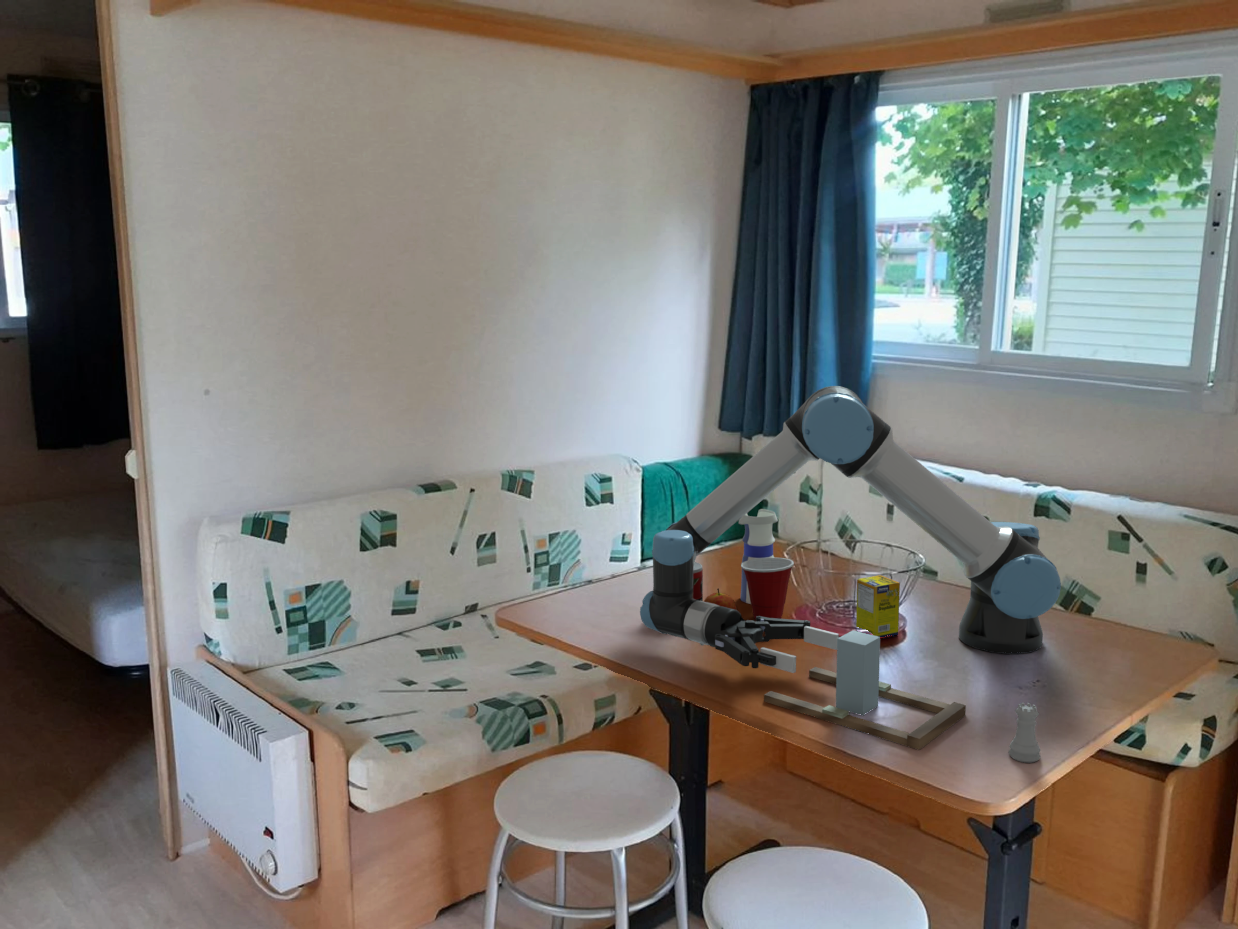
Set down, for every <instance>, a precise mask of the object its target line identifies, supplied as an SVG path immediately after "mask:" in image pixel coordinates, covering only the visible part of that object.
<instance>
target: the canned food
mask: <svg viewBox="0 0 1238 929" xmlns="http://www.w3.org/2000/svg"><path fill="white" fill-rule="evenodd" d="M703 570H704V569H703V565H702V564H701V563H699V562H696V561H695V562H694V567H693V599H695V600H699V601H703V602H704V600H703V590H704V589H703V586H704V582H703V580H704V578H703V576H704V575H703V574H704V573H703V572H704V571H703Z"/></svg>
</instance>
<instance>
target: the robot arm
mask: <svg viewBox="0 0 1238 929" xmlns="http://www.w3.org/2000/svg"><path fill="white" fill-rule="evenodd" d="M818 460H823V462H826V463H829V464H831V465H832V466H833V467H834V468H836V469H837V470H838V471H839V472H841V473H842V474H843V475H844V476H845V477H847V478H848V479H852V478H853V479H854V478H861V479H862V480H863V481H865V482H866V483H867V484H868V485H869V486H870V487H872V489H874V490H875V491H876V492H878V493H879V494H880V495H881V496H883V497H884V499H886V500H887V501H888V502H889V503H891V505H893V506H894V507H896V508H897V509H898V510H899V511H900V512H901V513H903V514H904V515H905V516H906V517H907V518H909V519H910V520H911V521H912V523H913V522H914V524H916V525H917V526H919V528H920V529H922V530H923V531H924V532H925V533H927V534H928V535H929V536H930V537H931V538H933V539H934V540H935V541H936V542H937V543H939V544H940V545H941V546H942V547H943V548H944V549H946V551H947V552H949V553H951V555H953V556H954V557H955V558H956V559H957V560H959V561H960V562H961V563H962V566H963V567H962V568H963V575H964V576H965V577H966V578H967V579H968V580H969V581H970V595H969V600H968V602H967V603H968V604H967V606H966V608H965V611H964V613H963V615H962V618H961V620H960V623H959V628H958V638H959V640H960V641H961V642H962V643H963V644H966V645H967V646H969V647H970V648H971V647H972V648H974V649H978V650H981V651H985V652H991V653H995V654H996V653H997V654H1009V655H1010V654H1011V655H1013V654H1017V655H1019V654H1027V653H1031V652H1035V651H1037V650H1039V649H1041V647H1042V646H1043V638H1044V637H1043V635H1044V634H1043V630H1042V626H1041V622H1040V619H1039V616H1042V615H1043V614H1045V613H1048V611H1050V609H1051V608H1053V607H1054V605H1055V604H1056V602H1057V601H1058V599H1059V597H1060V594H1061V587H1062V582H1061V577H1060V574H1059V572H1058V570H1057V567H1056V565H1055V564H1054V563H1053V562H1052V561H1051V560H1050V559H1049V558H1048V557H1047V556H1046V555H1045V554H1044V553H1043V552H1042V551H1041V550H1040V549H1039V544H1040V539H1041V537H1040V532H1039V530H1040V529H1039V528H1038V527H1036V525H1034V524H1030V523H1029V524H1028V523H1021V522H1010V521H1009V522H1008V521H1006V522H1005V521H990V520H989V519H987V518H986V517H985V516H984V515H983V514H982V513H980V512H979V511H978V510H977V509H976V508H974V507H973V506H972V505H971V504H970V503H969V502H967V501H966V500H965V499H963V498H962V497H961V496H960V495H959V493H958V494H957V493H956V491H954V490H953V489H952V488H951V487H950V486H948V485H947V484H946V483H944V482H943V481H942V480H941V479H940V478H938V477H937V475H935V474H934V473H933V472H932V471H930V469H928V468H927V467H925V466H924V465H923V464H922V463H921V462H919V461H918V459H916V458H915V457H913V455H911V454H910V453H909V452H908V451H907V450H905V449H904V448H903V447H902V446H901V445H900V444H898V443H897V442H895V440H894V437H893V428H892V427H891V425H889V424H888V423H887V422H885V421H884V420H883V419H882V418H880V417H879V416H878V415H877V414H876V413H875V412H873V411H872V409H870V408H869V407H868V406H866V405H865V404H864V403H863V400H862V399H861V398H860V397H859V396H858V394H856V392H854V391H853V390H851V389H850V388H847V387H843V386H839V385H830V386H824V387H823V388H820V389H818V390H816V391H815V392H813V393H812V394H811V395H810V396H809V397H808V398H807V399H806V401H805V402H804V403H803V404H802V405H801V406H800V407H799V408H798V409H797V410H796V411H795V412H794V413H793V414H792V415H791V416H790V417H788V418H787V419H786V420H785V421H784V422H783V425H782V431H781V432H780V433H778V434H777V435H776V436H775V437H774V438H772V440H770V441H769V442H768V443H767V444H765V445H764V447H763V448H761V449H760V450H759V451H757V452H756V453H754V455H753V456H752V457H751V458H749V459H748V460H747V461H746V462H744V463H743V465H742V466H740V467H739V468H738V469H737V470H736V471H735V472H734V473H732V474H731V475H729V477H727V479H725V480H724V481H723V482H722V483H721V484H719V485H718V486H717V487H716V488H715V489H714V490H713V491H711V493H709V494H708V495H706V497H704V498H703V499H702V500H701V501H699V503H698V504H695V506H694V507H693V508H691V510H689V511H688V512H687V513H686V514H685V515H684V516H682V517H681V518H680V519H679V520H678V521H676V522H673V523H671V524H670V525H669V526H668V527H667V528H666V529H665V530H661V531H660V532H657V533H655V534H654V536H653V538H652V550H651V554H652V577H653V582H652V583H653V584H652V585H653V586H652V587H653V588H652V590H651V591H649V592H648V593H646V594H645V596H644V597H643V598H642V600H641V602H642V605H641V606H640V609H639V615H640V620H641V622H642V623H643V625H644V627H647V628H648V629H650V630H653V631H656V632H658V633H660V634H665V635H668V636H672V637H677V638H680V639H685V640H688V641H690V642H691V641H692V642H695V643H699V645H700V646H709V647H712V648H714V649H715V650H717V651H720V652H722V653H725V654H726V656H728V657H730V658H731V659H733V660H734V661H735V662H737V663H738V664H740V665H741V666H742V667H749V666H750V663H751V668H752V669H759V665H762V666H763V665H764V666H767V667H771V668H774V669H777V670H781V671H784V672H788V673H792V674H794V673H796V672H797V665H796V664H797V656H796V655H794V654H789V653H786V652H782V651H778V650H775V649H771V648H767V647H764V646H762V647H760V650H759V648H758V646H757V645H756V643H769V642H770V641H771V640H803V642H805V643H808V644H812V645H815V646H819V647H824V648H828V649H831V650H834V651H837V638H839V637H840V634H839V633H836V632H833V631H828V630H824V629H820V628H816V627H813V626H811V621H810V620H807V619H804V620H801V619H790V618H789V619H787V618H781V619H778V618H767V617H762V616H757V617H756V619H755V620H751V619H750V620H749V619H747V620H745V619H744V617H743V616H742V614H741V612H740V611H738V610H737V609H736V610H735V609H731V608H727V607H723V606H719V605H716V604H712V603H708V602H704V600H703V601H699V600H695V599H693V567H694V562H696V558H697V557H698V556H699V555H700V554H701V553H702V552H703V551H704V550H706V549H707V548H708V547H709V546H710V545H711V544H712V543H713V542H714V541H716V540H717V539H718V538H719V537H720V536H722V535H723V534H724V533H725V532H726V531H728V529H730V528H732V526H734V524H736V523H737V522H739V519H740V518H742V517H743V516H744V515H745V514H746V513H747V514H748V513H749V512H750V511H751V510H752V509H754V508H755V507H756V506H757V505H758V504H760V502H762V501H763V500H764V499H766V498H767V497H768V496H769V495H770V494H771V493H773V491H775V490H776V489H777V488H779V487H781V485H782V484H783V483H785V481H787V480H788V479H790V477H792V476H793V475H794V474H795V473H796V472H797V471H799V470H800V469H801V468H802V467H803V466H804V465H806V464H807V463H808V462H810V461H815V462H816V461H818Z"/></svg>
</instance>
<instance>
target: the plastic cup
mask: <svg viewBox="0 0 1238 929" xmlns="http://www.w3.org/2000/svg"><path fill="white" fill-rule="evenodd" d="M794 564H795V563H794V560H792V559H790V558H783V557H775V556H774V557H769V558H757V559H751V560H748V561H745V562H743V563H742V562H741V563H740V567H741V570H742V569H743V570H744V573H745V576H746V579H747V584H748V590H749V596H750V601H751V604H750V605H751V610H752V611H751V612H752V616H753V618H754V620H756V617H757V616H762V617H767V618H778V619H783V616H784V609H785V608H784V607H785V605H786V601H787V600H786V599H787V595H788V594H787V593H788V588H789V587H788V586H789V582H790V578H791V573H792V569H793V567H794Z"/></svg>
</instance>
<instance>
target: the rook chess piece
mask: <svg viewBox="0 0 1238 929" xmlns="http://www.w3.org/2000/svg"><path fill="white" fill-rule="evenodd" d="M1025 704H1026V703H1025V702H1020V703H1018V705H1017V708H1016V709H1015V710H1014V711H1015V713H1016V715H1017V719H1015V721H1016V724H1017V727H1016V732H1015V736H1014V737H1013V738H1012V741H1010V744H1009V746H1008V747H1009V750H1008V755H1009V756H1010V757H1011V758H1012V759H1013V760H1014V761H1017V762H1020V763H1023V764H1024V763H1025V764H1033V763H1036V762H1038V760H1040V759H1041V754H1040V752H1041V751H1042V750H1041V746H1040V745H1039V743H1038V740H1037V738H1036V725H1037V721H1036V718H1037V717H1038V716H1039V715H1040V713H1039V712H1038V710H1037V706H1036V705H1035V704H1031V703H1029V702H1027V704H1026V705H1025Z"/></svg>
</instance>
